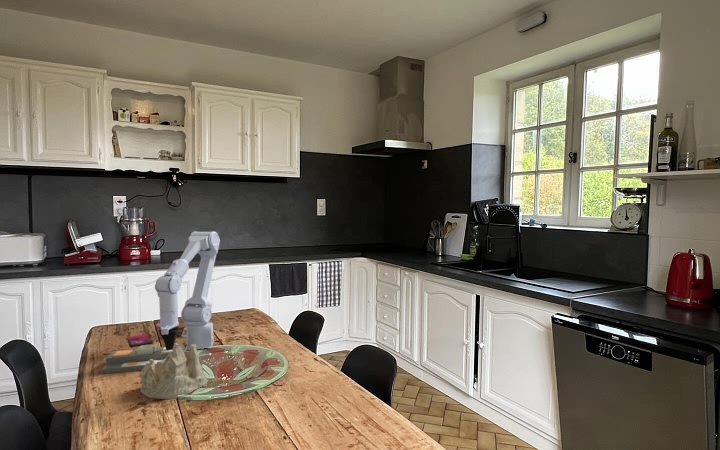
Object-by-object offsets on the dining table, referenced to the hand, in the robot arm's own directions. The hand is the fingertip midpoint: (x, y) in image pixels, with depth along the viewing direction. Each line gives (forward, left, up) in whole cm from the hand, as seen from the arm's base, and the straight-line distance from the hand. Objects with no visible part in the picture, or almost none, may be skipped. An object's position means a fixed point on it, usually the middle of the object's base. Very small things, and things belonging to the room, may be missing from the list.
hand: (170, 349), depth 152 cm
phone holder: (-3, -36, -4) cm, 36 cm away
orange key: (+15, 0, -2) cm, 15 cm away
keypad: (+7, 0, -4) cm, 8 cm away
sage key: (+8, 0, -1) cm, 8 cm away
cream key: (0, 0, -2) cm, 2 cm away
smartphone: (+17, -27, -4) cm, 32 cm away
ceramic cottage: (-6, +25, -4) cm, 26 cm away
